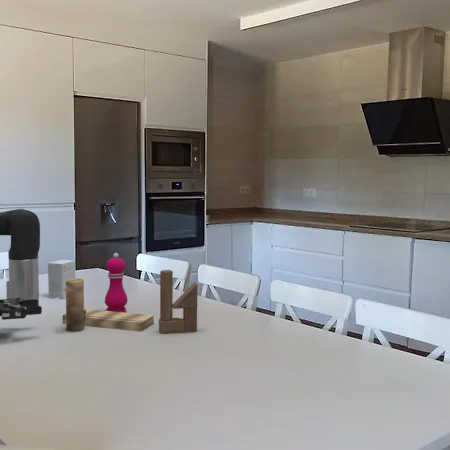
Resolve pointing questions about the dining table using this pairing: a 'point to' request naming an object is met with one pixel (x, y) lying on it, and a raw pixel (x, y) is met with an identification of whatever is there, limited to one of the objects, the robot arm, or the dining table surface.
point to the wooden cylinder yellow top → (75, 305)
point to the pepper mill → (116, 285)
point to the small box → (60, 277)
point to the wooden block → (176, 306)
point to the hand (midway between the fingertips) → (39, 306)
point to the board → (116, 320)
